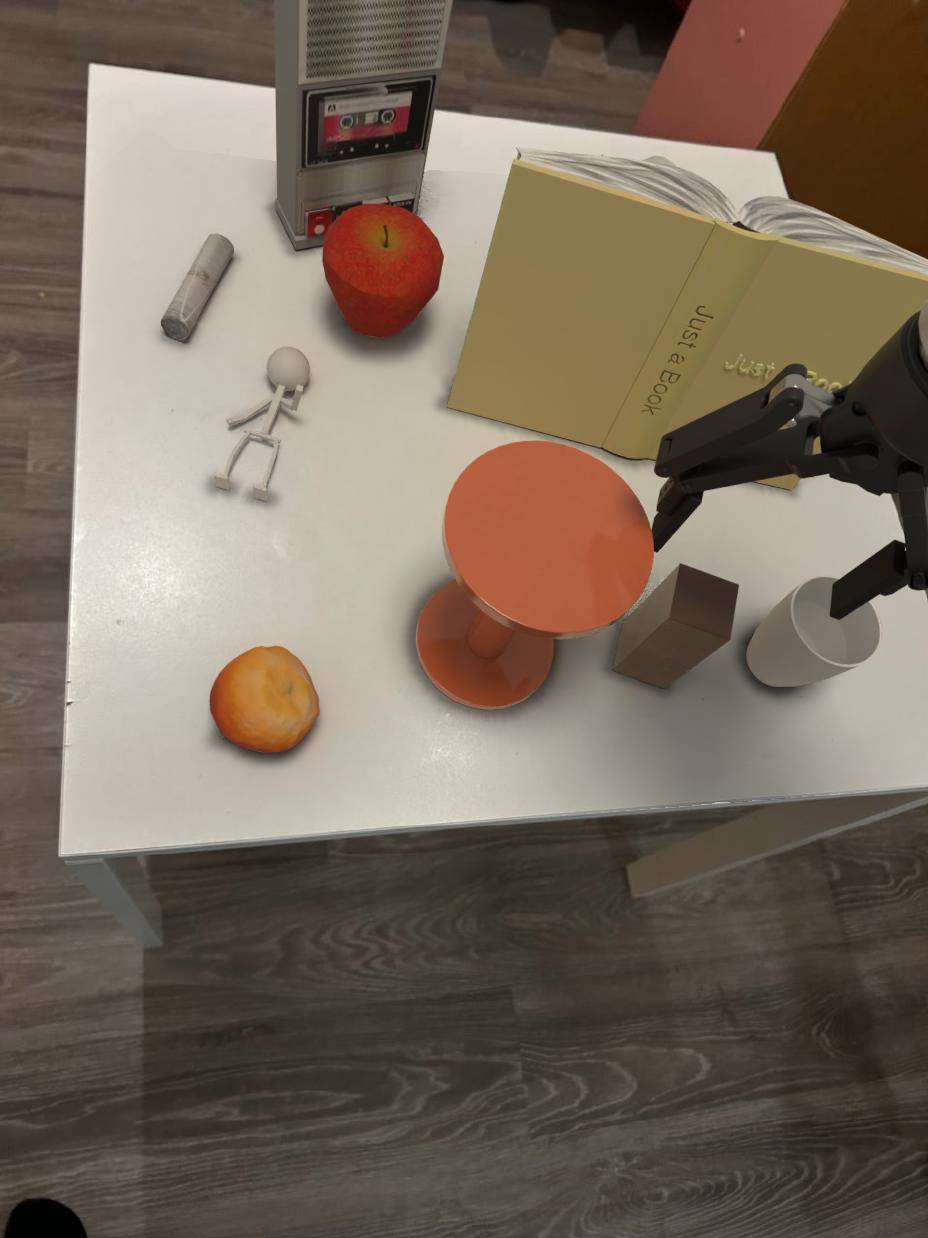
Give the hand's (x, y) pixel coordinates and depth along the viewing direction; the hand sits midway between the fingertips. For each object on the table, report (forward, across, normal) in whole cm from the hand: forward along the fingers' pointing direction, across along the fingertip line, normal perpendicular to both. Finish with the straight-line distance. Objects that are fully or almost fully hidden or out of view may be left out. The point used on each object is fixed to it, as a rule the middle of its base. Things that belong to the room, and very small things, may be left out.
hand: (746, 568), depth 57 cm
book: (+18, +7, -24) cm, 31 cm away
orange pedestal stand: (+18, +14, +4) cm, 23 cm away
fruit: (+19, +29, +16) cm, 38 cm away
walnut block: (+18, 0, -1) cm, 18 cm away
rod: (+18, +50, -21) cm, 57 cm away
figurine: (+18, +39, -9) cm, 44 cm away
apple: (+18, +34, -25) cm, 46 cm away
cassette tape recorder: (+18, +41, -37) cm, 58 cm away
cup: (+18, -12, -4) cm, 22 cm away
